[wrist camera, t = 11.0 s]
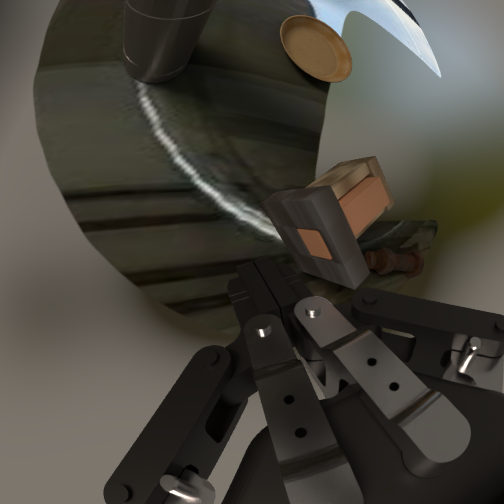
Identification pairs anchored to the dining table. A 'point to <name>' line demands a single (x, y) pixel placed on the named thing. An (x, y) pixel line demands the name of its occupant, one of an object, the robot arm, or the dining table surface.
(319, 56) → the plant saucer
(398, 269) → the bolt
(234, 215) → the dining table surface
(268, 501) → the robot arm
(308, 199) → the frame
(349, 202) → the peg
